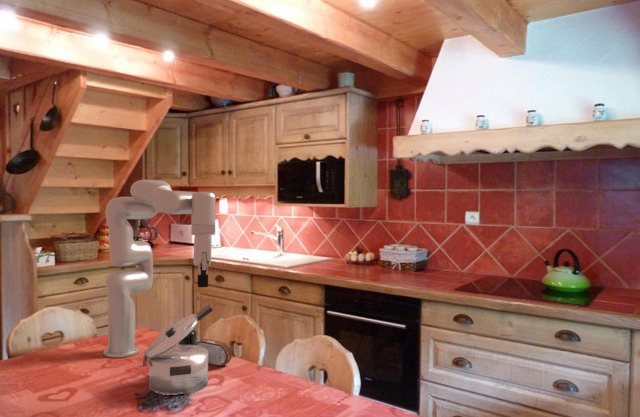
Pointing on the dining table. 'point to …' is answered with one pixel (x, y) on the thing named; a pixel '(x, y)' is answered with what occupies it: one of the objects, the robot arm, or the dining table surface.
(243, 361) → the dining table surface
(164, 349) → the cooker lid
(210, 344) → the tin
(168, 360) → the cooker pot
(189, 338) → the supplement bottle
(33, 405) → the dining table surface
